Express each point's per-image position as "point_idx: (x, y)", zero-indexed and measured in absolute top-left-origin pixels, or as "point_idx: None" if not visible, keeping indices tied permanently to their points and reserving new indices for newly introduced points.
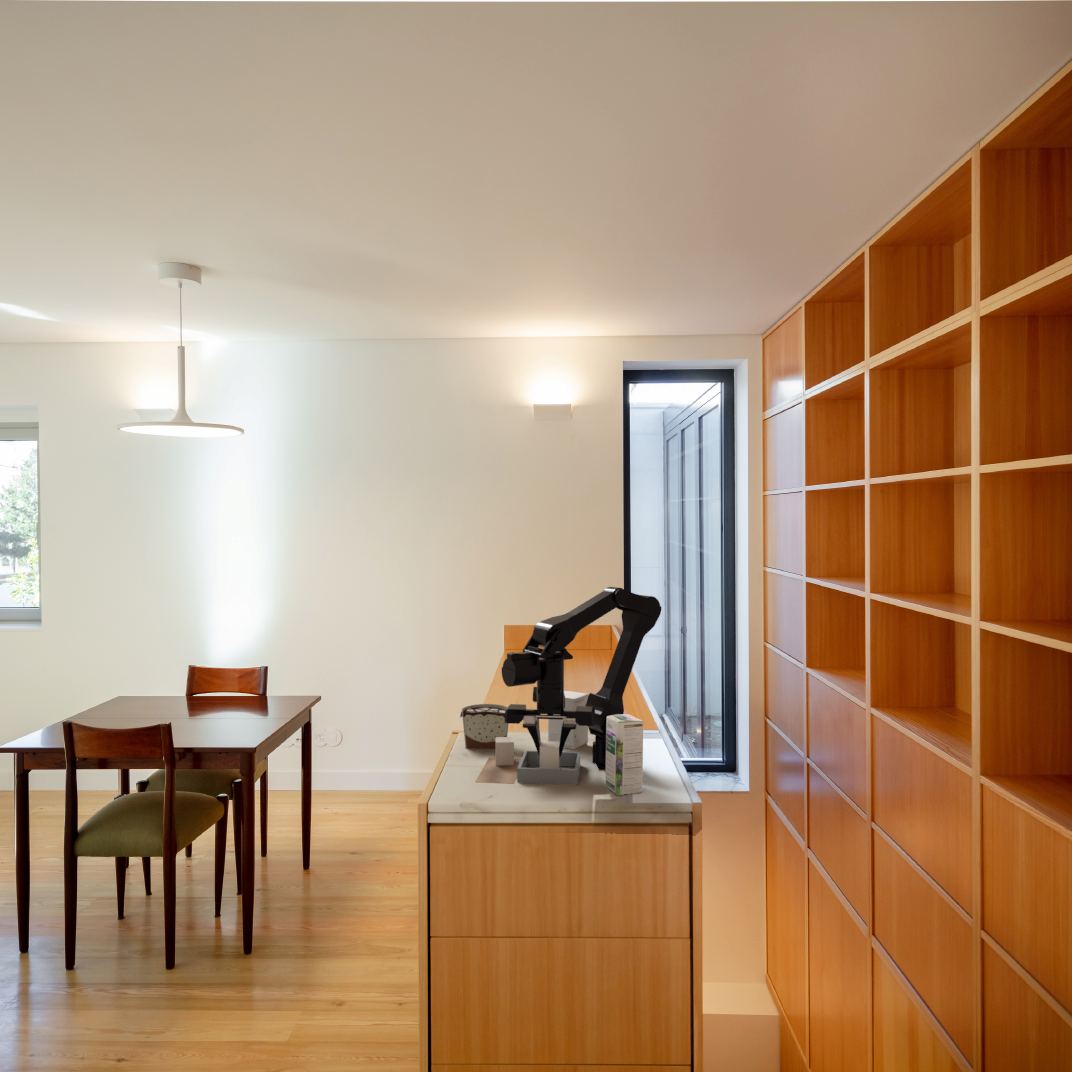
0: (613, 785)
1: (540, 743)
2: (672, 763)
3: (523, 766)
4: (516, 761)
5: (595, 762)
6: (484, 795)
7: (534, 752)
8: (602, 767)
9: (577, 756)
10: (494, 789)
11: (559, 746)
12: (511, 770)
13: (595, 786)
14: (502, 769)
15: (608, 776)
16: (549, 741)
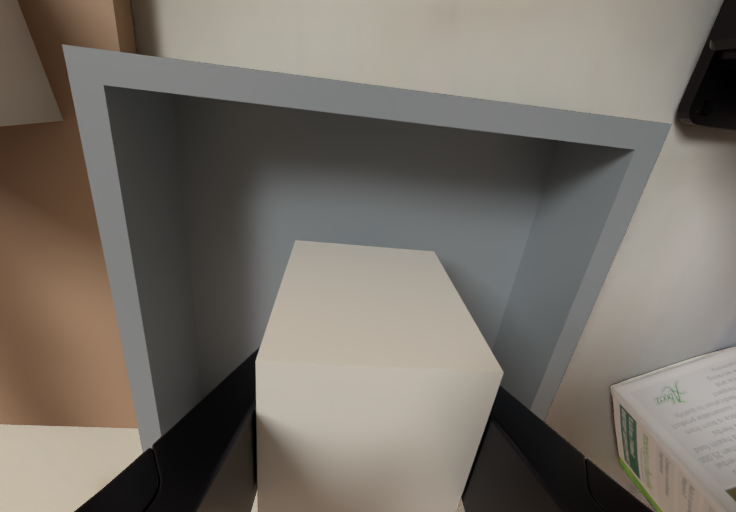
0: (637, 471)
1: (253, 447)
2: None
3: (169, 325)
4: (48, 4)
5: (729, 60)
6: (75, 486)
7: (195, 93)
8: (731, 128)
9: (600, 246)
10: (92, 433)
11: (463, 500)
12: (89, 244)
13: (568, 378)
14: (14, 226)
15: (655, 465)
16: (364, 369)
